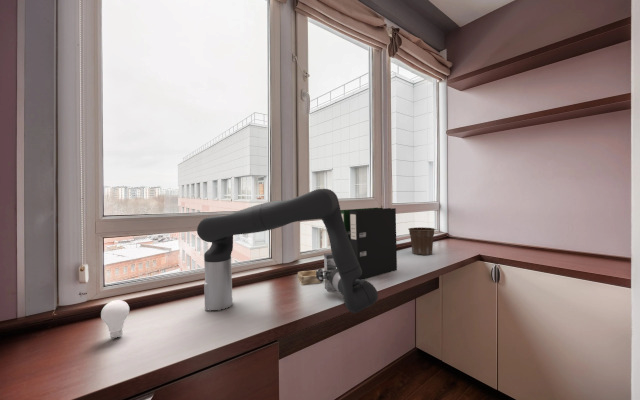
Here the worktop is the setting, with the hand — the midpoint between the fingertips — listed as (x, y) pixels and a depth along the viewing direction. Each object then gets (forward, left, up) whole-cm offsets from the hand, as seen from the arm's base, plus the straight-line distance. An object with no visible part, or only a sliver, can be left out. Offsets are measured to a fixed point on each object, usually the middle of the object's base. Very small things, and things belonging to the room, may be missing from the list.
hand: (329, 269), depth 117 cm
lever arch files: (+26, +16, -8) cm, 32 cm away
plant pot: (+76, +43, -8) cm, 88 cm away
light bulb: (-71, -19, -8) cm, 74 cm away
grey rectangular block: (0, -1, -8) cm, 8 cm away
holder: (-6, +13, -8) cm, 16 cm away
